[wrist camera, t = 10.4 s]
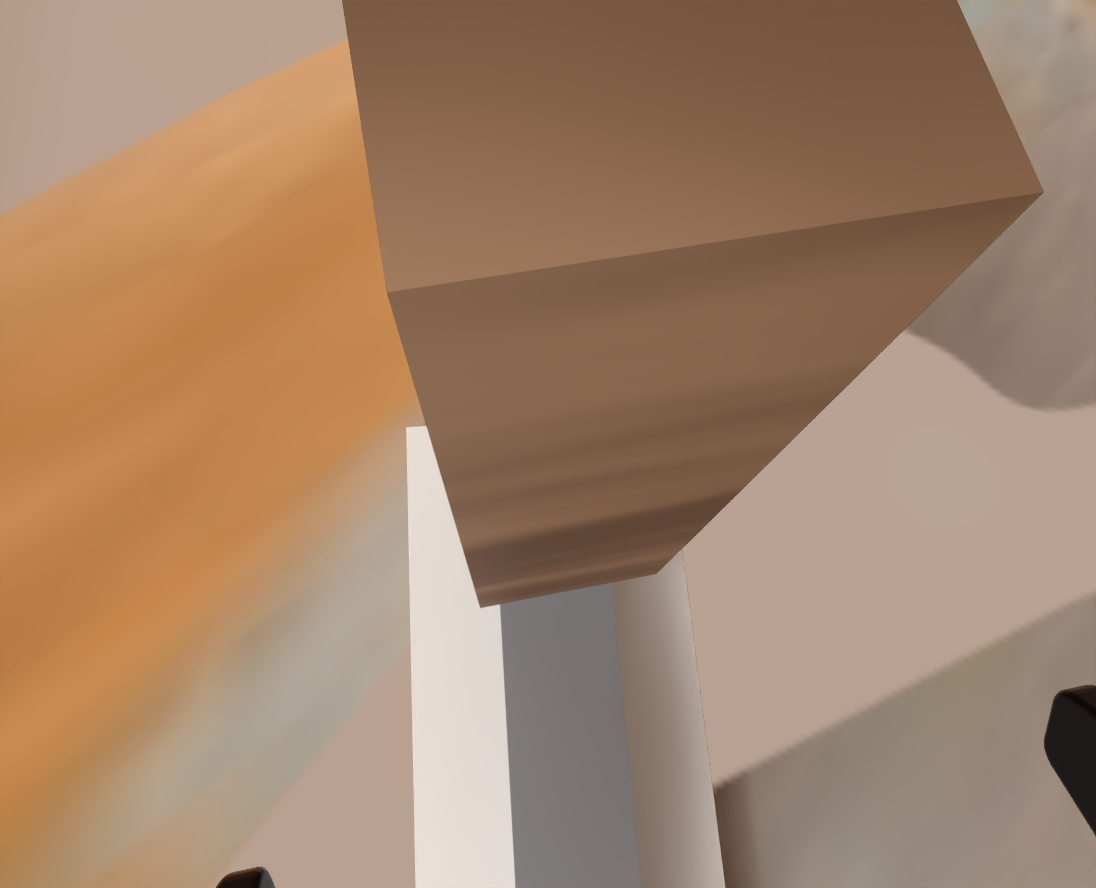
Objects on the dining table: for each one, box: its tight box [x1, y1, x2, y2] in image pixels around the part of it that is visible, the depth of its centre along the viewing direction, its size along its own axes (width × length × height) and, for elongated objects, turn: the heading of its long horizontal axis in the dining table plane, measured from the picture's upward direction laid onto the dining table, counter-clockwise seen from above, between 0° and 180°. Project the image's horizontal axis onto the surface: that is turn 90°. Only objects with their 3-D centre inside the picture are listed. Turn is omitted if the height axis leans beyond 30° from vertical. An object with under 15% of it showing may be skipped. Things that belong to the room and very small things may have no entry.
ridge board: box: [406, 426, 725, 888], centre depth 19 cm, size 18×7×4 cm, turn 4°
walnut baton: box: [342, 0, 1044, 608], centre depth 12 cm, size 4×4×14 cm
